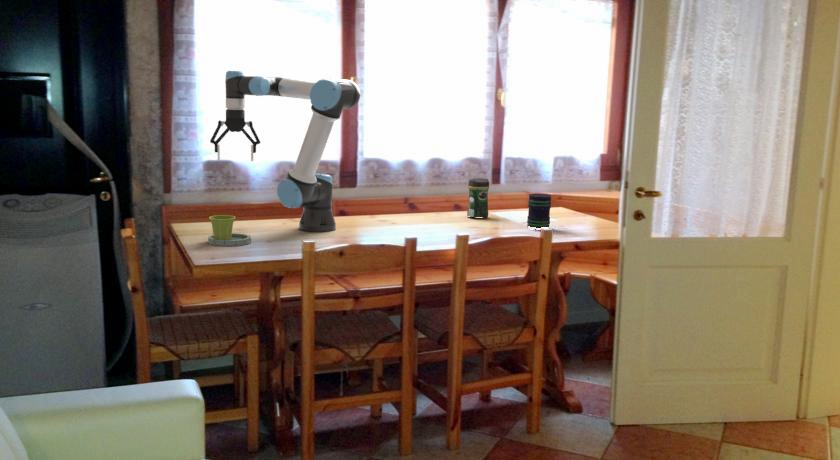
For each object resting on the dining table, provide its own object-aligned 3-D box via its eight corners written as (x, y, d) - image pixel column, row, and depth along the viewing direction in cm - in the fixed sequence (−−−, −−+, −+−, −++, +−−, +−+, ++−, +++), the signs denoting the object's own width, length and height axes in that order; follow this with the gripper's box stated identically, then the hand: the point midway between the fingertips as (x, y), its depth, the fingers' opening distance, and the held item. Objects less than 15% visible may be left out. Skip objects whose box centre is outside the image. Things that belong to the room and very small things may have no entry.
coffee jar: (480, 215, 387) (482, 177, 384) (490, 218, 381) (492, 179, 377) (464, 216, 382) (465, 177, 379) (473, 219, 376) (475, 179, 372)
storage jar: (553, 229, 356) (556, 195, 354) (541, 231, 349) (543, 197, 347) (535, 226, 363) (537, 193, 360) (522, 228, 356) (524, 194, 353)
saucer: (258, 240, 309) (258, 235, 309) (238, 247, 295) (238, 242, 294) (221, 236, 313) (221, 231, 313) (200, 244, 299) (200, 238, 298)
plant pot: (222, 243, 297) (222, 220, 295) (204, 240, 302) (203, 217, 300) (240, 239, 305) (240, 217, 303) (222, 236, 310) (222, 214, 308)
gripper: (265, 109, 341) (265, 160, 345) (203, 107, 335) (204, 159, 339) (266, 110, 334) (266, 161, 337) (203, 108, 328) (204, 161, 331)
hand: (235, 160), depth 338 cm, fingers open, 13 cm apart
